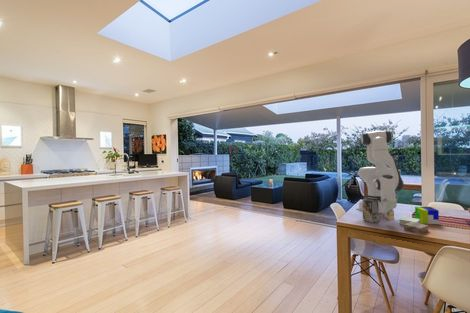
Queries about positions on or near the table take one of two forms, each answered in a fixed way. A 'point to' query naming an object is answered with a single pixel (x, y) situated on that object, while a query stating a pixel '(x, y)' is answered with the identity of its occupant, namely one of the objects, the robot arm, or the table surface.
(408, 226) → the walnut block
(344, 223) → the table surface
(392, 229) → the table surface
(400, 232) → the table surface
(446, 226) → the table surface
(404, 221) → the sage block
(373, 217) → the coffee box
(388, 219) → the oak block
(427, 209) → the puzzle toy
